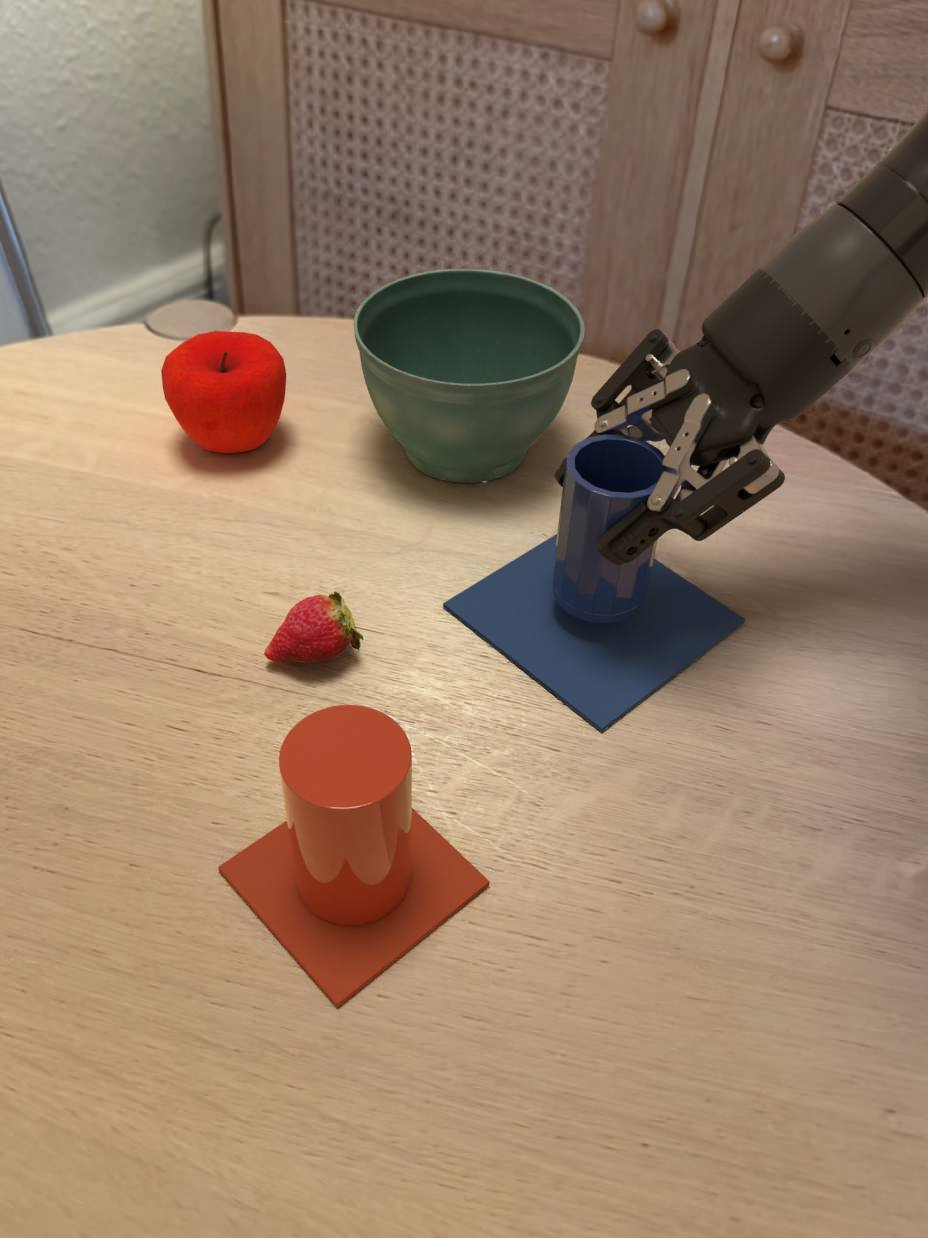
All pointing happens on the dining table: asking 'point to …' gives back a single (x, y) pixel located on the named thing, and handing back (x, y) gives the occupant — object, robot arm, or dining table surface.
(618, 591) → the blue cup
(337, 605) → the fruit
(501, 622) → the blue mat
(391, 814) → the tall red cylinder
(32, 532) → the dining table surface
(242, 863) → the red mat
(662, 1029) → the dining table surface
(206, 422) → the apple
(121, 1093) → the dining table surface
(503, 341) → the flower pot
